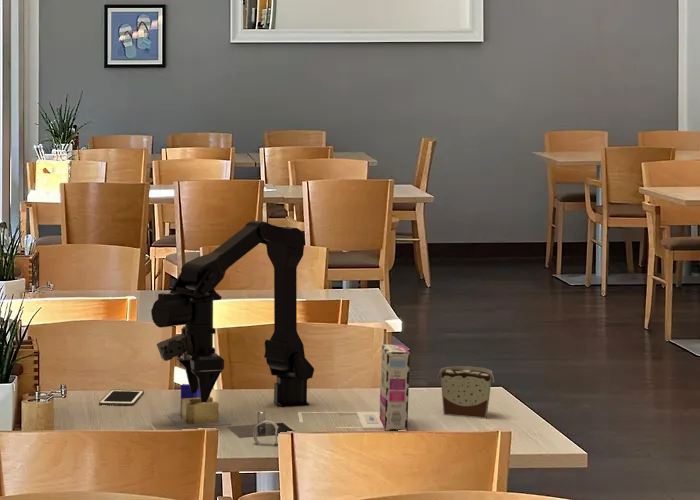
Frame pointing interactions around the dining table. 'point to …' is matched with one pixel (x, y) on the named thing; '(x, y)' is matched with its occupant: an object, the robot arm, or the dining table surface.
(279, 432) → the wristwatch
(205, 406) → the tan wooden block
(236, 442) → the dining table surface
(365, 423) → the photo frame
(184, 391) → the blue arch block
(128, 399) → the cell phone
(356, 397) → the dining table surface
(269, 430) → the stand
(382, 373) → the candy bar box
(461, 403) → the food container
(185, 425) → the coaster
